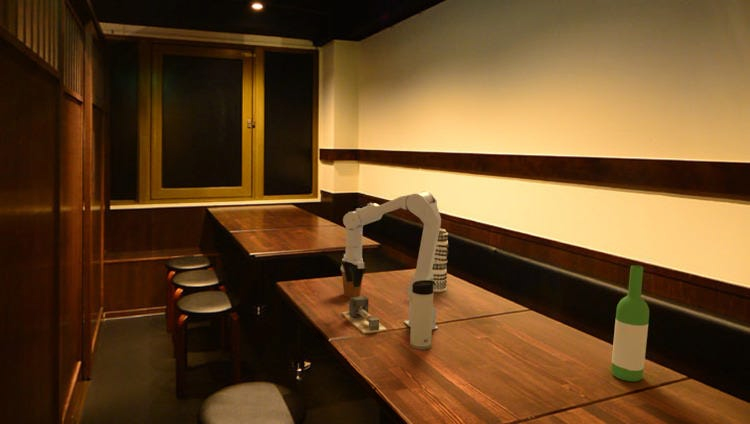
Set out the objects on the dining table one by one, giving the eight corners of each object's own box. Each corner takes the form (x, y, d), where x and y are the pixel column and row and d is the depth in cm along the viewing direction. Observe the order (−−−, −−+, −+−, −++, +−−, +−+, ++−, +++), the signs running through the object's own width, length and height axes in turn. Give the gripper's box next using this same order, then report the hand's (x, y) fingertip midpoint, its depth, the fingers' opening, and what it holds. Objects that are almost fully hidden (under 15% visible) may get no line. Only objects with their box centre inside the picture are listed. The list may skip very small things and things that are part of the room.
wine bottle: (615, 367, 147) (625, 261, 142) (645, 376, 142) (657, 266, 138) (606, 376, 141) (616, 266, 136) (638, 386, 136) (650, 271, 132)
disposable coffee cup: (336, 292, 210) (336, 263, 208) (358, 290, 214) (359, 261, 212) (345, 299, 201) (345, 268, 200) (368, 297, 205) (368, 266, 204)
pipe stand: (386, 330, 170) (386, 318, 169) (363, 333, 167) (363, 321, 166) (363, 311, 188) (363, 300, 188) (341, 313, 185) (342, 302, 184)
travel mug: (431, 351, 154) (433, 284, 152) (408, 348, 156) (411, 282, 153) (433, 343, 160) (435, 279, 158) (411, 341, 162) (413, 277, 159)
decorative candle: (450, 288, 221) (453, 228, 217) (441, 293, 213) (444, 232, 209) (431, 284, 225) (433, 226, 222) (421, 289, 218) (423, 229, 214)
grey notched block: (368, 316, 181) (368, 298, 180) (352, 317, 178) (353, 300, 178) (364, 313, 183) (365, 296, 183) (349, 315, 181) (349, 297, 180)
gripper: (336, 242, 188) (335, 279, 190) (350, 250, 175) (349, 290, 177) (354, 241, 191) (353, 278, 193) (370, 249, 178) (369, 288, 180)
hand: (353, 284), depth 185 cm, fingers open, 6 cm apart
